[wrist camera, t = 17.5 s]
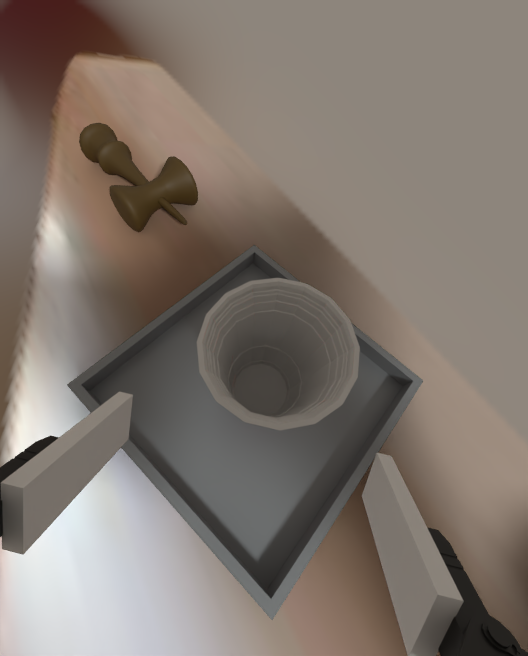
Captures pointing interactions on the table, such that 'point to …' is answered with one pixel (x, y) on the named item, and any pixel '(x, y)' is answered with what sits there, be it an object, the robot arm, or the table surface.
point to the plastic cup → (278, 353)
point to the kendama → (138, 178)
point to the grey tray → (245, 441)
